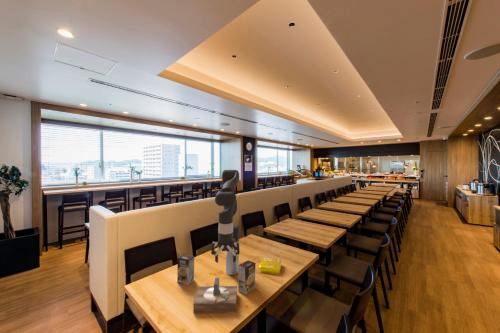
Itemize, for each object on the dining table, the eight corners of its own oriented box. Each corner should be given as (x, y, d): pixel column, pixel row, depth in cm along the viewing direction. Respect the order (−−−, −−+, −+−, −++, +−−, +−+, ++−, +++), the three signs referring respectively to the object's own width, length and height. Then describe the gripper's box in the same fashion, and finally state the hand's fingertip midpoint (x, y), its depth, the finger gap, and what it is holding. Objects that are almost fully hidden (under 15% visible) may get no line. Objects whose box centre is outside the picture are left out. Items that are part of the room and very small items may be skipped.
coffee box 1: (176, 282, 136) (176, 257, 136) (183, 277, 142) (183, 253, 142) (188, 285, 133) (188, 260, 133) (194, 280, 139) (194, 255, 139)
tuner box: (199, 294, 123) (199, 285, 123) (236, 294, 124) (236, 285, 124) (193, 313, 108) (193, 302, 108) (235, 312, 109) (235, 302, 109)
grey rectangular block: (213, 289, 119) (213, 277, 119) (220, 289, 120) (220, 277, 119) (211, 301, 109) (211, 288, 109) (218, 301, 109) (218, 288, 109)
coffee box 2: (245, 295, 123) (246, 268, 123) (237, 291, 127) (238, 265, 127) (255, 288, 130) (255, 262, 130) (247, 284, 134) (247, 259, 134)
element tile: (258, 272, 150) (258, 265, 150) (262, 262, 164) (262, 256, 164) (279, 275, 146) (279, 268, 146) (281, 265, 160) (282, 259, 160)
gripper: (239, 228, 111) (239, 258, 111) (212, 228, 110) (212, 258, 111) (239, 233, 103) (239, 265, 104) (210, 233, 103) (210, 266, 103)
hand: (225, 262), depth 107 cm, fingers open, 8 cm apart
